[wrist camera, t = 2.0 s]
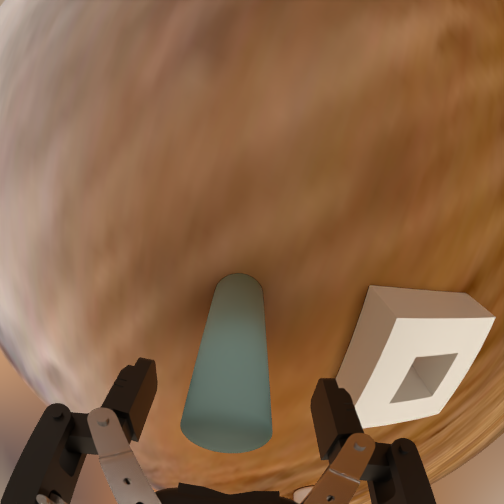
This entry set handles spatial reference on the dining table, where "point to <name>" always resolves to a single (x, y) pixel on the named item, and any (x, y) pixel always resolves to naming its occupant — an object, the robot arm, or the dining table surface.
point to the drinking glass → (301, 494)
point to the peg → (231, 373)
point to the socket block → (410, 352)
